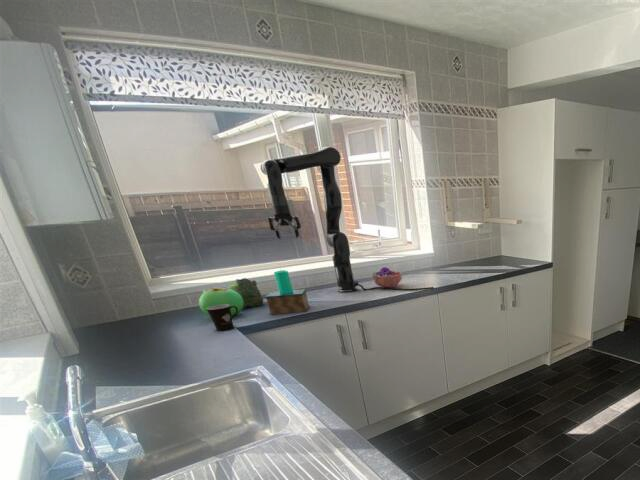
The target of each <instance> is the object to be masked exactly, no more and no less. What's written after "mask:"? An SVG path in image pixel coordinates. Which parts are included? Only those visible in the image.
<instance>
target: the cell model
mask: <svg viewBox="0 0 640 480" xmlns="http://www.w3.org/2000/svg"><path fill="white" fill-rule="evenodd" d="M371 276H372V278H373V283H375V285H376V286H377V287H386V288H397V286H398V285H399V283H400V282H401V281H402V279H403V277H402V271H398V270H391V269H390V268H388V267H382V268H381V269H380V270H379V271H378V272H373V273H371Z"/></svg>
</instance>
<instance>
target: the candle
mask: <svg viewBox="0 0 640 480" xmlns="http://www.w3.org/2000/svg"><path fill="white" fill-rule="evenodd" d="M273 274H274V277H275V281H276V285H277V289H278V291H279V293H280V294H289V293H292V292H293V290H294V289H293V287H292V281H291V279H290V275H289V271H288V270H284V269H282V270H281V269H280V270H277V271H273Z"/></svg>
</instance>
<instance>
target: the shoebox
mask: <svg viewBox="0 0 640 480" xmlns="http://www.w3.org/2000/svg"><path fill="white" fill-rule="evenodd" d="M292 290H293V292H292V293H289V294H280V293H279V290H277V291H276V290H275V291H269V292H268V294H266V295H265V299H266V301H267V305H268V308H269V312H270V315H281V314H292V313H294V314H295V313H303V312H304V313H305V312H307V310H308V309H309V308H310V304H309V299H308V295H307V289H306V288H303V289H292Z"/></svg>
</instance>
